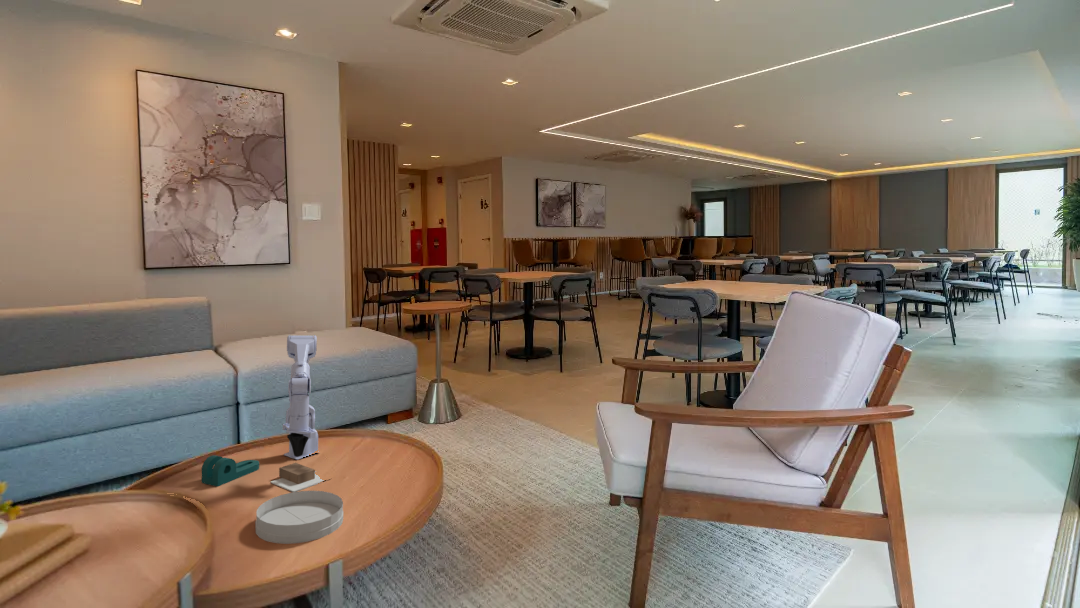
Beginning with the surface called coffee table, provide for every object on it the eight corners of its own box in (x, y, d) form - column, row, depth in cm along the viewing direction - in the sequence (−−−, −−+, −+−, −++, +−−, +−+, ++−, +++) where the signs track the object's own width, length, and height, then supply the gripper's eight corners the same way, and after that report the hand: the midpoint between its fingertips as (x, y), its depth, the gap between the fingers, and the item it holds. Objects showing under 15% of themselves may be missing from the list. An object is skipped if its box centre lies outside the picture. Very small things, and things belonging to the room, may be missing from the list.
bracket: (217, 487, 174) (218, 462, 173) (201, 483, 176) (201, 459, 175) (263, 468, 191) (264, 445, 190) (248, 464, 193) (248, 442, 192)
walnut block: (295, 462, 187) (314, 469, 182) (295, 471, 188) (314, 478, 182) (279, 467, 182) (298, 475, 177) (279, 476, 183) (298, 484, 177)
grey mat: (309, 470, 190) (309, 469, 190) (332, 478, 184) (332, 477, 184) (270, 482, 178) (270, 481, 178) (293, 492, 172) (293, 491, 172)
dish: (317, 500, 168) (317, 484, 168) (359, 524, 155) (359, 506, 154) (240, 524, 151) (240, 506, 151) (279, 554, 137) (280, 534, 137)
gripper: (274, 412, 181) (273, 453, 182) (302, 421, 174) (301, 464, 174) (293, 408, 187) (293, 448, 188) (321, 416, 179) (320, 458, 180)
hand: (298, 455), depth 182 cm, fingers closed
